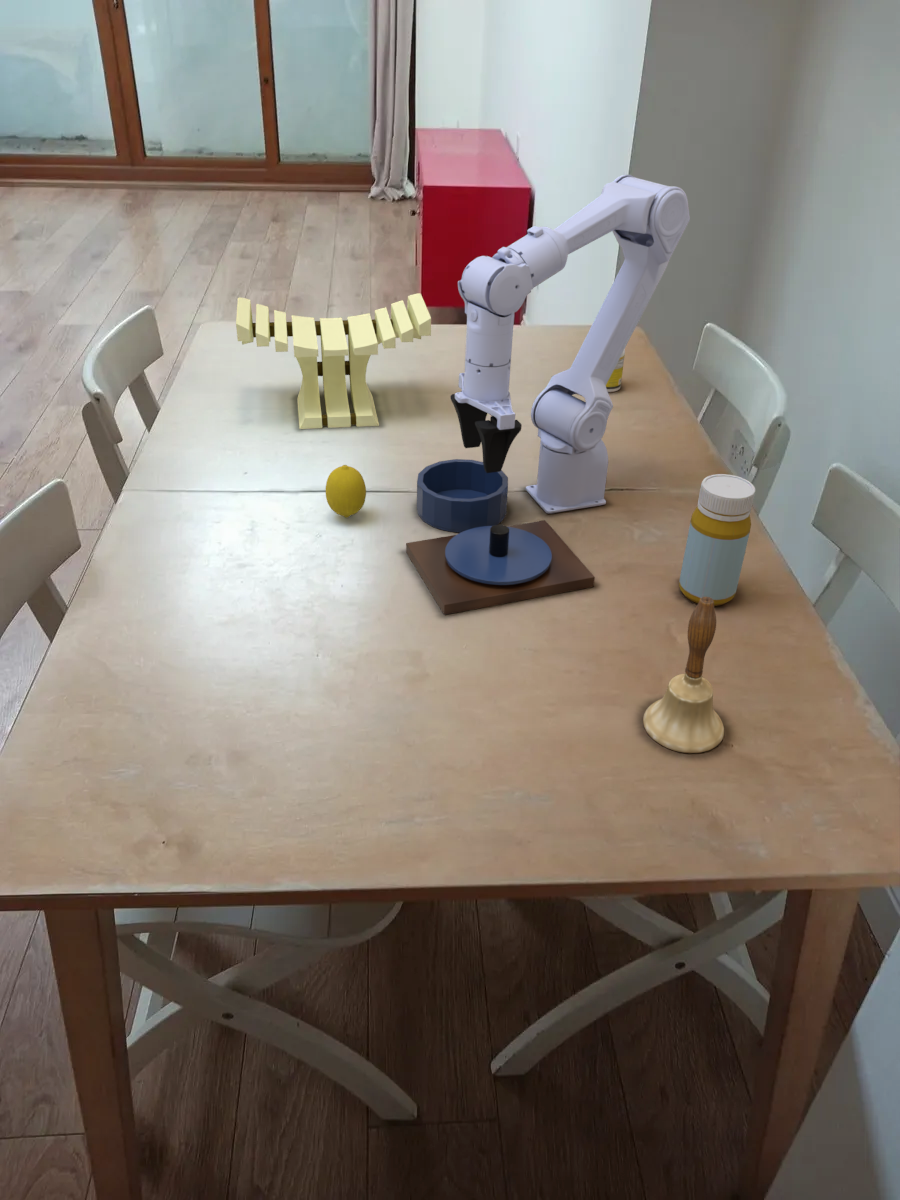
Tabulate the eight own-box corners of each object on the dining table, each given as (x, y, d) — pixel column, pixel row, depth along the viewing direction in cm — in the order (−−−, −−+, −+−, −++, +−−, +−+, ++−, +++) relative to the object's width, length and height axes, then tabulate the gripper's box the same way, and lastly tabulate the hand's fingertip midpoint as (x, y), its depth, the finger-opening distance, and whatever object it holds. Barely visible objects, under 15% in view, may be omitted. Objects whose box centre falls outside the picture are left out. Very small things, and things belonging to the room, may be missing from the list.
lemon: (360, 529, 133) (358, 476, 128) (321, 524, 134) (318, 472, 129) (371, 510, 137) (370, 458, 133) (333, 505, 138) (331, 454, 134)
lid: (525, 526, 132) (527, 496, 129) (569, 578, 121) (572, 547, 119) (430, 541, 128) (430, 511, 125) (467, 597, 117) (468, 565, 115)
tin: (486, 484, 145) (488, 454, 142) (520, 524, 135) (522, 493, 132) (405, 496, 141) (405, 465, 138) (434, 538, 131) (434, 507, 128)
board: (544, 529, 134) (545, 520, 133) (593, 586, 122) (594, 576, 122) (406, 552, 128) (406, 542, 127) (444, 615, 117) (444, 604, 116)
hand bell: (672, 762, 97) (699, 633, 88) (627, 711, 103) (648, 586, 94) (740, 741, 99) (773, 613, 90) (692, 692, 106) (719, 569, 97)
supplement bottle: (584, 384, 178) (590, 331, 172) (610, 380, 180) (616, 328, 174) (600, 394, 174) (607, 341, 168) (626, 390, 176) (633, 337, 170)
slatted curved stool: (417, 387, 175) (418, 287, 165) (429, 423, 162) (431, 318, 152) (248, 393, 171) (238, 291, 161) (246, 431, 158) (235, 323, 148)
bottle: (737, 583, 124) (761, 478, 115) (731, 613, 118) (756, 504, 110) (682, 572, 126) (701, 468, 117) (674, 601, 120) (694, 494, 112)
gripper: (438, 342, 125) (435, 439, 133) (479, 383, 114) (473, 486, 121) (489, 338, 127) (483, 433, 135) (534, 377, 116) (525, 479, 124)
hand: (482, 458), depth 128 cm, fingers open, 7 cm apart
